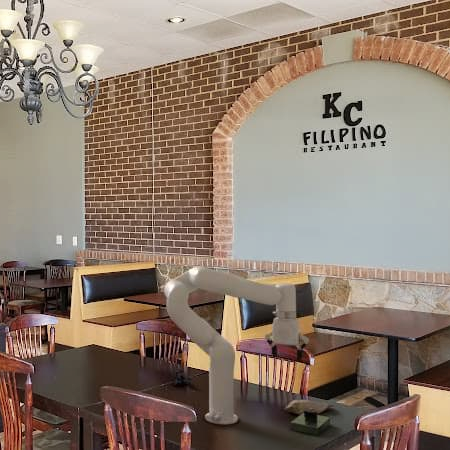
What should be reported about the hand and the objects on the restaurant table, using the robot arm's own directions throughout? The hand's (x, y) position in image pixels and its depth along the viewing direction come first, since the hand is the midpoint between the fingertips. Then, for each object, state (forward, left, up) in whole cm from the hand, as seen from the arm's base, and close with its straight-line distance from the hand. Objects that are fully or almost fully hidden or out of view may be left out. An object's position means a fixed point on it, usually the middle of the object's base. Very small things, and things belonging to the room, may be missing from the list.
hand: (287, 358), depth 243 cm
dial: (-5, -11, -21) cm, 24 cm away
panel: (-5, -11, -24) cm, 27 cm away
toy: (+17, +58, -24) cm, 65 cm away
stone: (+14, -4, -24) cm, 28 cm away
